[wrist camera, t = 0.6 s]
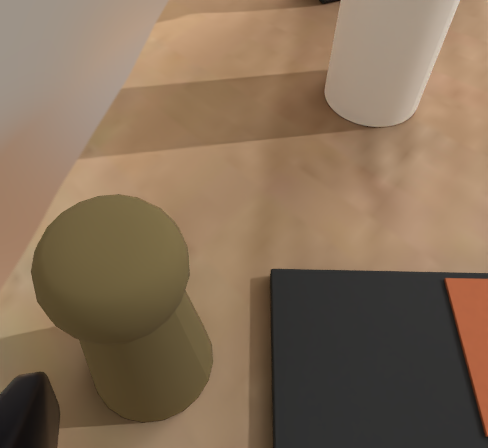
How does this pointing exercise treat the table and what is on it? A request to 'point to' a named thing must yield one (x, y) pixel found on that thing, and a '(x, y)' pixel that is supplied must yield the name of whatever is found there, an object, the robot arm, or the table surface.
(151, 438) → the table surface
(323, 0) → the ceramic cat
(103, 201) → the cork
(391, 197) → the table surface
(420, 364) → the rubber mat
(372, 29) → the cylindrical container
